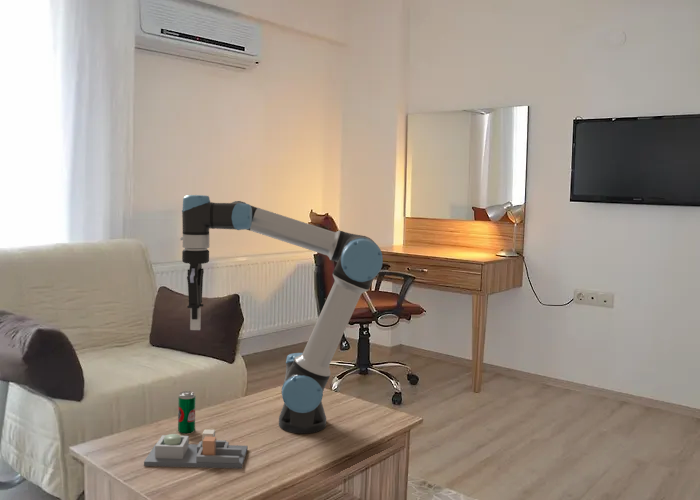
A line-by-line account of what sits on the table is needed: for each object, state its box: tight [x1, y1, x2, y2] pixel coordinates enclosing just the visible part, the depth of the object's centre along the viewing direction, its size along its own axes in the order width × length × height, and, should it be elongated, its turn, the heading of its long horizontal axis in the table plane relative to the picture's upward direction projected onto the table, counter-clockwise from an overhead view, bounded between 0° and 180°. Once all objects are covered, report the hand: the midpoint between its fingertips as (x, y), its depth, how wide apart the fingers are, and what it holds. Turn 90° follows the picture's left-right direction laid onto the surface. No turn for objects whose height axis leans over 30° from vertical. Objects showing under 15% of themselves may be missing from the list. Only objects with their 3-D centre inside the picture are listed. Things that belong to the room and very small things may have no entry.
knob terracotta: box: [203, 436, 217, 455], centre depth 174 cm, size 3×3×5 cm
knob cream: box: [201, 428, 216, 447], centre depth 179 cm, size 3×3×5 cm
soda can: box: [177, 390, 197, 435], centre depth 194 cm, size 5×5×12 cm
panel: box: [143, 434, 248, 469], centre depth 176 cm, size 26×12×5 cm, turn 92°
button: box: [164, 433, 182, 445], centre depth 176 cm, size 4×4×3 cm
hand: (195, 329), depth 186 cm, fingers closed
